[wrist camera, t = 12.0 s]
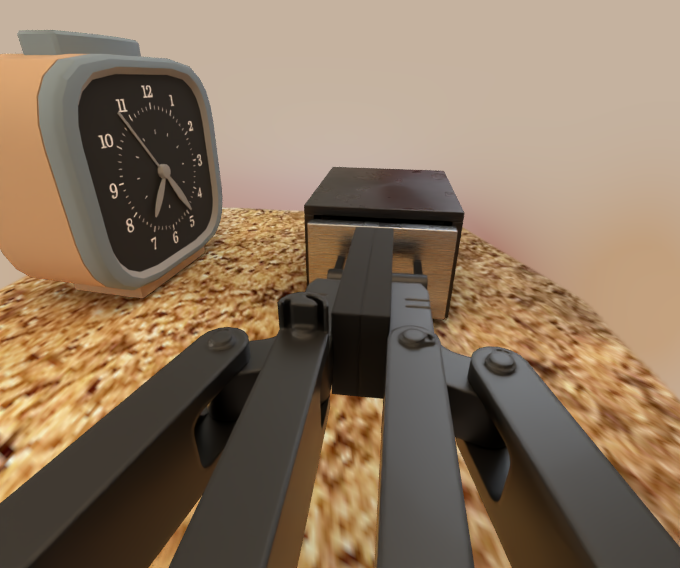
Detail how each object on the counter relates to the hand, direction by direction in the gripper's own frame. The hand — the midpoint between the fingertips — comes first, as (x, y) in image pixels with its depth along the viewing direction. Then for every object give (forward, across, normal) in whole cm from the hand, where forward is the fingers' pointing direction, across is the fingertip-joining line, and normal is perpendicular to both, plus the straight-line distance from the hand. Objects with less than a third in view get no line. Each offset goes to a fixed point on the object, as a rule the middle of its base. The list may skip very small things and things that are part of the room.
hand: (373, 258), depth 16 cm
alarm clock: (+21, -25, -12) cm, 35 cm away
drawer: (+19, 0, -11) cm, 22 cm away
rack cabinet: (+23, 0, -12) cm, 26 cm away
